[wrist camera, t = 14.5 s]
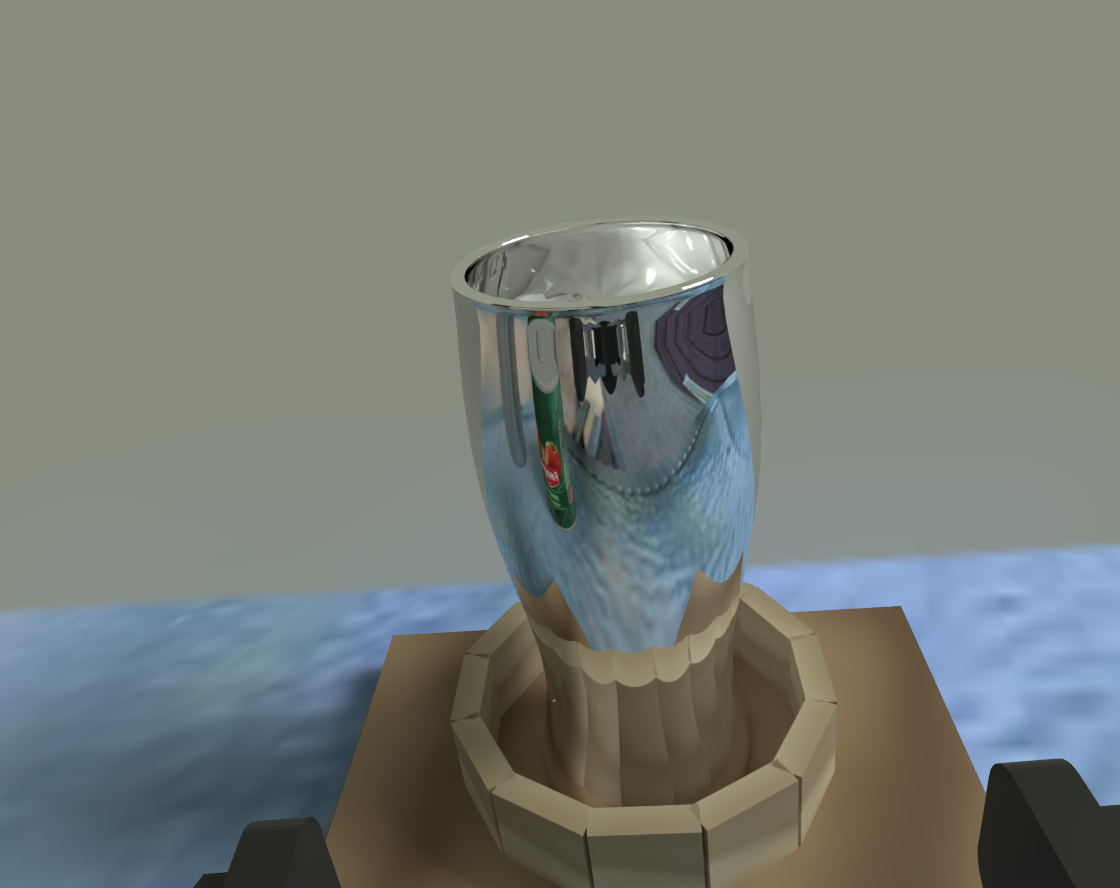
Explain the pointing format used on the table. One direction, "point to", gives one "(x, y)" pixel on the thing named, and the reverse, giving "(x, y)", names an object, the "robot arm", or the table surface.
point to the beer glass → (621, 487)
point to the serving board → (670, 830)
